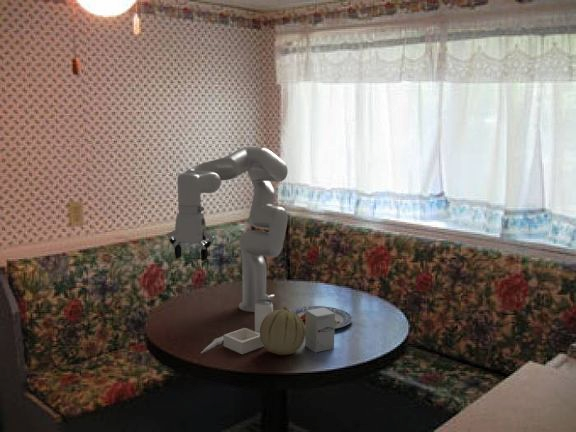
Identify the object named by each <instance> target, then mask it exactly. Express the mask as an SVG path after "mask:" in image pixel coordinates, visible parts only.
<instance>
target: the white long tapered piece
mask: <svg viewBox="0 0 576 432" xmlns="http://www.w3.org/2000/svg"><path fill="white" fill-rule="evenodd" d="M223 343H224V338H223V335H222V336H220V337H216V338H214V339H213V340H212V342H211V343H210V344H209V345H207V346H206V347H205V348H204V349H203V350H202V351H201V352H200V354H201V355H202V354H203V353H205V352H208V351H210V350H212V349H213V348H215V347H216V346H219V345H221V344H223Z"/></svg>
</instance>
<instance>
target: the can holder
mask: <svg viewBox="0 0 576 432" xmlns="http://www.w3.org/2000/svg"><path fill="white" fill-rule="evenodd" d="M222 336H223V338H224V341H223V347H225V348H227V349H229V350H231V351H234V352H236V353H238V354H241V355H244V354H247V353H250V352H252V351H255V350H258V349H260V348H263V347H264V345H263V343H262V341H261V339H260V333H258V332H255V330H252V329H250V328H247V327H242V328H240V329H238V330H234V331H231V332H229V333H225V334H223V335H222Z"/></svg>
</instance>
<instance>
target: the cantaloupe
mask: <svg viewBox="0 0 576 432" xmlns="http://www.w3.org/2000/svg"><path fill="white" fill-rule="evenodd" d="M260 339H261V341H262V343H263V345H264V346H263V347H264V348H265V350H267V351H268V352H270V353H271V354H275V355H278V356H287V355H288V356H289V355H292V354H293V353H295V352H296V351H298V350H299V349H300V348H301V346H302V345H303V343H304V342H305V326H304V323H303V321H302V319H301V318H300V317H299V316H298V315H297V314H296V313H294V312H291V311H290V310H288V308H287V306H283V309H275V310H273V311H272V312H271V313H269V314H268V315H267V316H266V317H265V318H264V320H263V321H262V323H261V327H260Z"/></svg>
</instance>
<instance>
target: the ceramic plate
mask: <svg viewBox="0 0 576 432" xmlns="http://www.w3.org/2000/svg"><path fill="white" fill-rule="evenodd" d="M323 307H324V308H326V309H328V310H330V311H332V312H333V313H335V326H334V330H335V329H340V328H343V327H344V328H345V327H346V326H347V325H349V324H351V323H352V321H353V317H352V315H351V314H350V313H349V312H348V311H346V310H343V309H339V308H336V307H331V306H324V305H323V306H322V305H310V306H309V305H307V306H301V307H300V306H299V307H296V308H292V309H290V310H289V311H291V312H294V313H296V314H297V315H298V316H299V317H300V318H301V319H302V321H303V323H304V326H305V321H306V310H311V309H318V308H323Z"/></svg>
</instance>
